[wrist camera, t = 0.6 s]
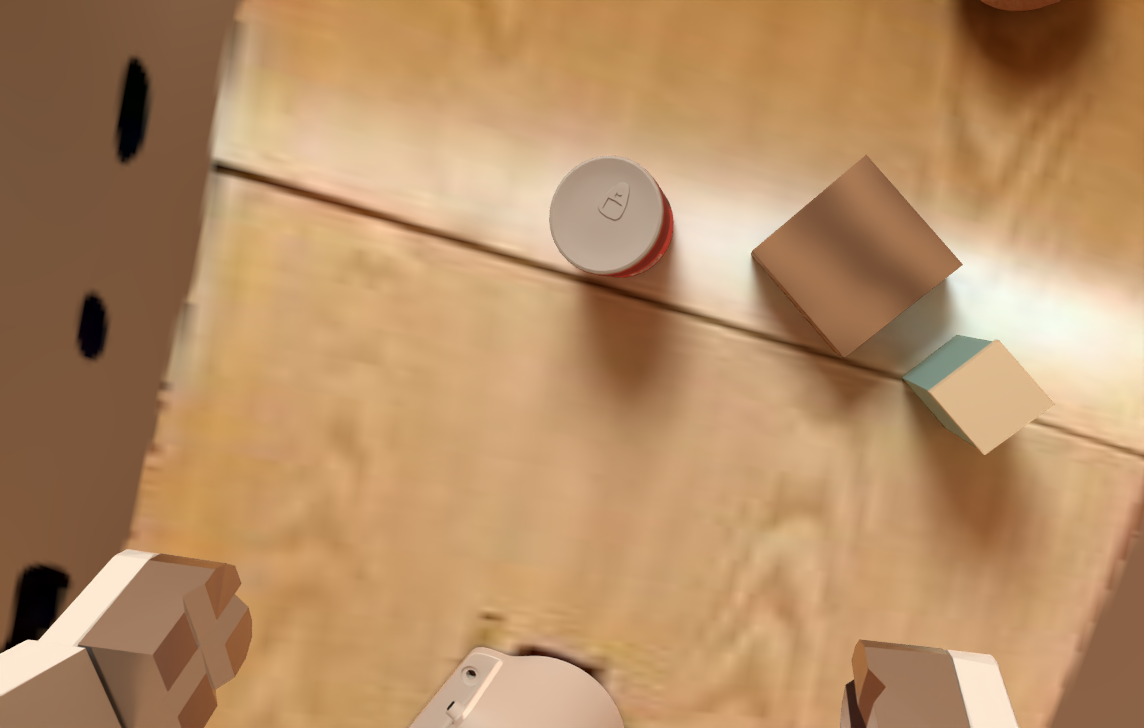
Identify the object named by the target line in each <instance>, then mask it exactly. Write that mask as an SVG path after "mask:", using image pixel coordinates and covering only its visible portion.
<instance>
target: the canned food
mask: <svg viewBox="0 0 1144 728" xmlns="http://www.w3.org/2000/svg"><path fill="white" fill-rule="evenodd" d="M549 221H550V229H551V234H552V237H553V240H554V243H555V244H556V246H557V248H558V250H559V251H560V253H561V254H562V255H563V256H564V257H565V258H566V259H567V261H569V262H570V263H571V264H573V265H574V266H575V267H577V268H579V269H581V270H583V271H585V272H588V273H592V274H597V275H603V276H612V277H629V276H634V275H637V274H640V273H642V272H644V271H646V270H648V269H649V268H651V267H652V266H653V265H654V264H656V263H657V262H658V261H659V260H660V258H661V257H662V256H663V254H664V253H665V252H666V250H667V248H668V246H669V243H670V241H671V237H672V233H673V214H672V210H671V207H670V204H669V202H668V200H667V198H666V196H665V195H664V193H663V192H662V190H661V188H660V187H659V185H658V184H657V182H656V181H655V179H654V178H653V177H652V176H651V175H650V174H649V173H648V171H647V170H646V169H644V168H643V167H642V166H640V165H639V164H638V163H636V162H633V161H631V160H629V159H627V158H622V157H617V156H601V157H596V158H592V159H590V160H587V161H585V162H583V163H581V164H579V165H578V166H576V167H575V168H574V169H572V170H571V171H570V172H569V173H568V174H567V175H566V176H565V177H564V179H563V180H562V181H561V183H560V184H559V186H558V187H557V189H556V192H555V194H554V196H553V199H552V203H551V207H550V218H549Z"/></svg>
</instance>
